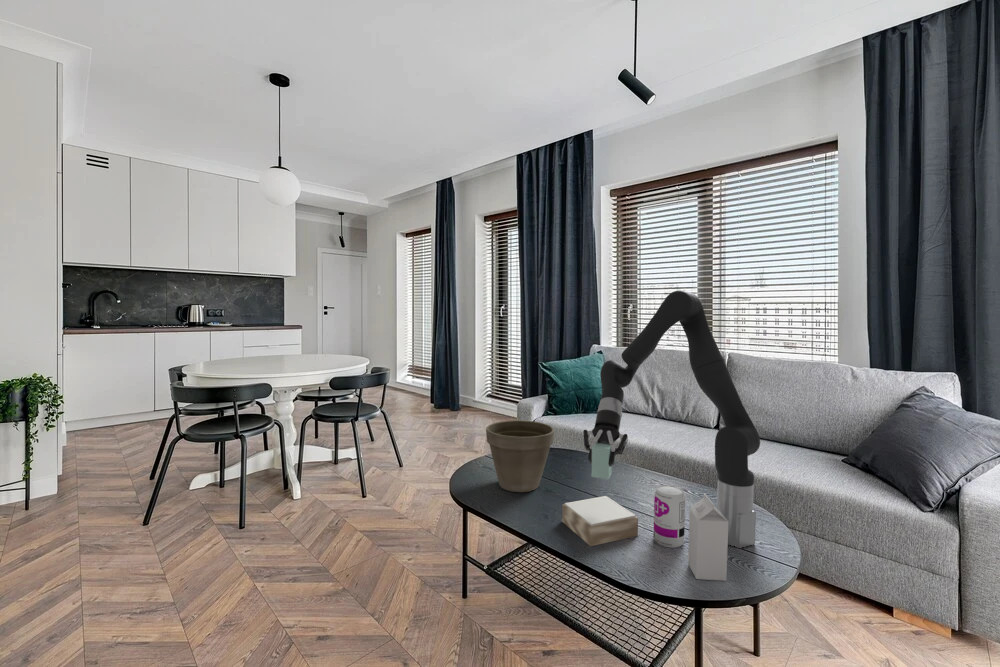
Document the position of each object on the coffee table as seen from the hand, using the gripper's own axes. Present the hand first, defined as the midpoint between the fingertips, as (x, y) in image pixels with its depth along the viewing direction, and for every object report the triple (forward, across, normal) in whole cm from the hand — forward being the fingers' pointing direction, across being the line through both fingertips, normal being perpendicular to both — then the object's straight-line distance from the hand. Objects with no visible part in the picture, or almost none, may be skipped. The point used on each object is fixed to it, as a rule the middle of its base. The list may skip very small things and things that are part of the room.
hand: (600, 463), depth 143 cm
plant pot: (-2, -35, +30) cm, 46 cm away
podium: (+14, 0, +14) cm, 20 cm away
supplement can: (+14, +20, +14) cm, 28 cm away
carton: (+2, 0, +4) cm, 5 cm away
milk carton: (+23, +30, +6) cm, 38 cm away
